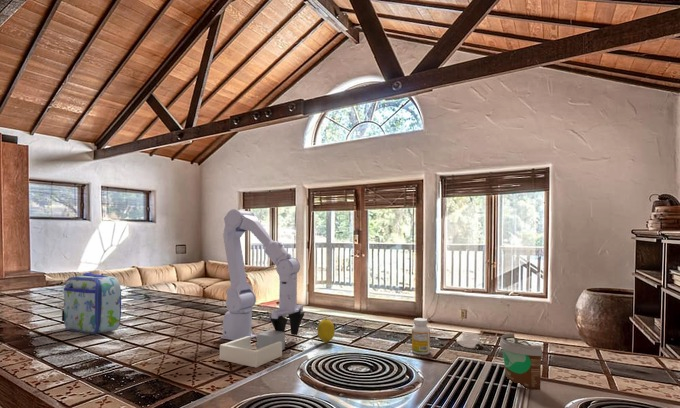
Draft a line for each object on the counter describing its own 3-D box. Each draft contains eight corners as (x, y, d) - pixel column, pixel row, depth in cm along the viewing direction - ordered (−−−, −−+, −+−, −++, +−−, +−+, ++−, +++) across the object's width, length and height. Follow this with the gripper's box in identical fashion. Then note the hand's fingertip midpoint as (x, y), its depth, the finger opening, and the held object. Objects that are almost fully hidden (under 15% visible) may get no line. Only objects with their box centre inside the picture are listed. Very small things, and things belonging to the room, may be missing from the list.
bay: (219, 359, 107) (219, 344, 107) (247, 349, 117) (247, 335, 117) (255, 367, 100) (256, 352, 101) (282, 356, 110) (282, 341, 110)
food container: (491, 373, 96) (489, 333, 97) (514, 372, 96) (512, 332, 97) (518, 393, 84) (516, 347, 85) (544, 392, 84) (542, 346, 85)
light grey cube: (256, 351, 115) (257, 334, 115) (270, 345, 120) (270, 329, 121) (272, 354, 112) (272, 336, 112) (285, 348, 118) (285, 331, 118)
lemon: (332, 346, 120) (332, 320, 121) (315, 345, 121) (315, 319, 122) (336, 341, 125) (336, 316, 126) (319, 340, 126) (320, 316, 127)
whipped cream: (453, 348, 122) (451, 332, 122) (462, 341, 126) (460, 327, 127) (477, 351, 116) (475, 335, 116) (486, 344, 121) (484, 329, 121)
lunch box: (57, 329, 142) (60, 273, 144) (88, 323, 151) (91, 270, 153) (90, 339, 128) (94, 276, 130) (123, 332, 137) (126, 274, 139)
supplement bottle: (418, 348, 118) (418, 316, 118) (433, 352, 114) (433, 319, 115) (408, 352, 114) (408, 319, 115) (423, 356, 110) (423, 322, 111)
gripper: (284, 299, 116) (283, 344, 115) (310, 293, 129) (310, 333, 128) (266, 297, 120) (265, 341, 119) (293, 291, 132) (293, 331, 131)
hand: (287, 337), depth 123 cm, fingers open, 7 cm apart
